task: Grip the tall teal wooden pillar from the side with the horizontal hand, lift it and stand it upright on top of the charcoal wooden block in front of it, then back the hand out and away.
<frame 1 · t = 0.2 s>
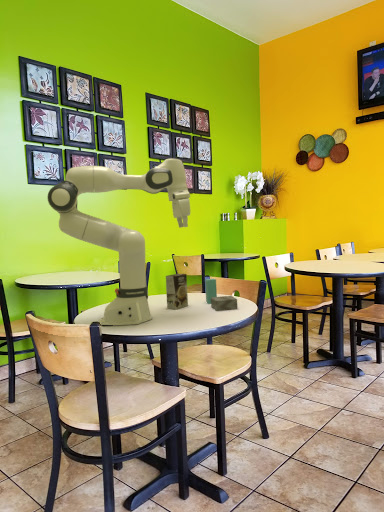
hand: (183, 227, 174), 39 cm above the table, tool pointing down, fingers open, 8 cm apart
coffee box: (177, 307, 194), on the table
teal pillar: (211, 302, 201), on the table
charcoal block: (224, 308, 187), on the table
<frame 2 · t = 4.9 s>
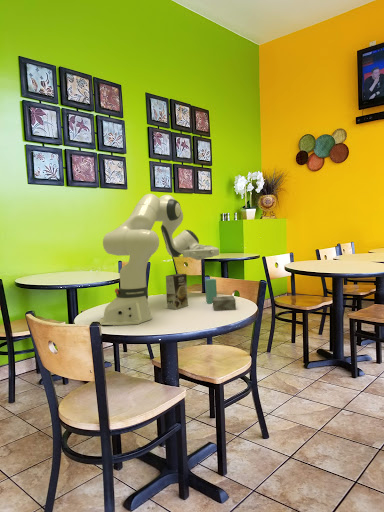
hand: (203, 253, 211), 24 cm above the table, tool horizontal, fingers open, 8 cm apart
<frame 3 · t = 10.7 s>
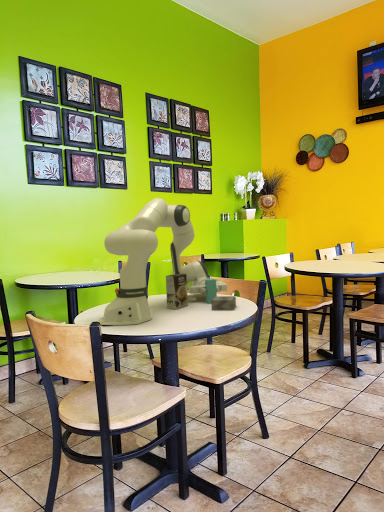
hand: (211, 290, 200), 7 cm above the table, tool horizontal, fingers closed on teal pillar, 4 cm apart
teal pillar: (211, 302, 201), on the table, touching gripper
when the fingers open (13 cm above the table, at t = 18.3 s): teal pillar drops 2 cm, resting on charcoal block.
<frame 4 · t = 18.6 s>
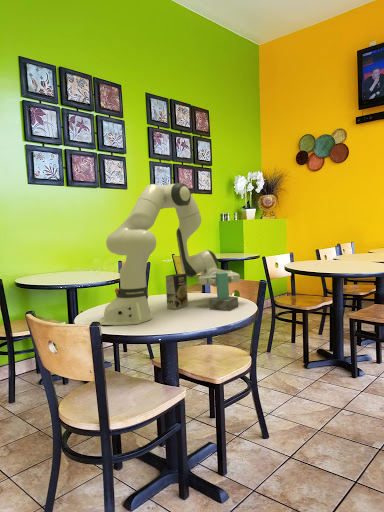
hand: (223, 281, 185), 13 cm above the table, tool horizontal, fingers open, 7 cm apart
teal pillar: (223, 298, 186), point 5 cm above the table, touching charcoal block
charcoal block: (224, 308, 187), on the table, touching teal pillar
everything else where it was.
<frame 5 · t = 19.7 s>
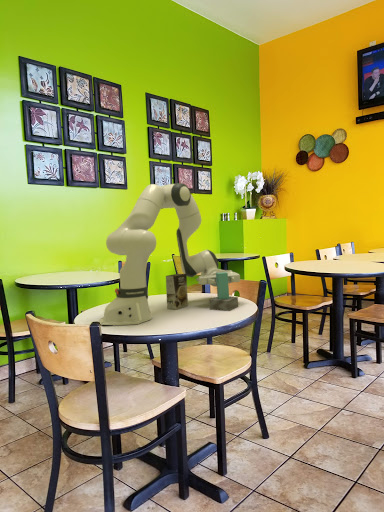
hand: (223, 280, 185), 13 cm above the table, tool horizontal, fingers open, 8 cm apart
teal pillar: (223, 298, 187), point 5 cm above the table
charcoal block: (224, 308, 187), on the table
everything else where it was.
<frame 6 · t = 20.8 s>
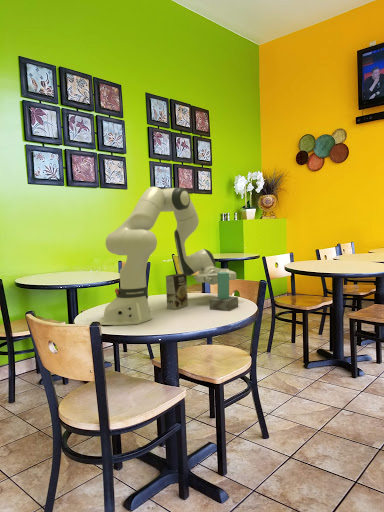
hand: (220, 279, 191), 13 cm above the table, tool horizontal, fingers open, 8 cm apart
nothing on the table moved.
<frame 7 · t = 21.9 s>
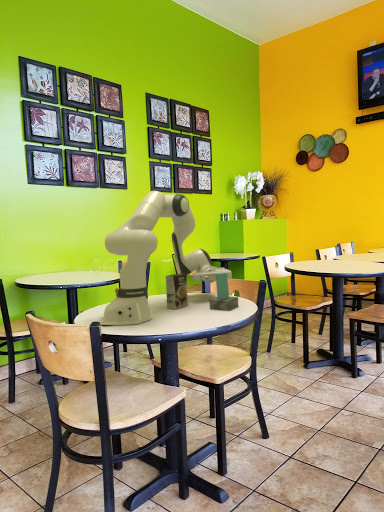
hand: (216, 277, 198), 13 cm above the table, tool horizontal, fingers open, 8 cm apart
teal pillar: (223, 298, 186), point 5 cm above the table, touching charcoal block
charcoal block: (224, 308, 187), on the table, touching teal pillar
everything else where it was.
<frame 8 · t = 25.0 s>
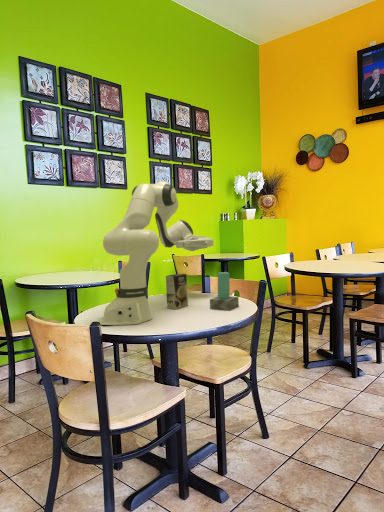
hand: (197, 243, 206), 30 cm above the table, tool horizontal, fingers open, 8 cm apart
teal pillar: (223, 298, 187), point 5 cm above the table
charcoal block: (224, 308, 187), on the table
everything else where it was.
at the end: teal pillar point 4.8 cm above the table; teal pillar 0.2 cm from the charcoal block (horizontally); teal pillar tilted 4° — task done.
